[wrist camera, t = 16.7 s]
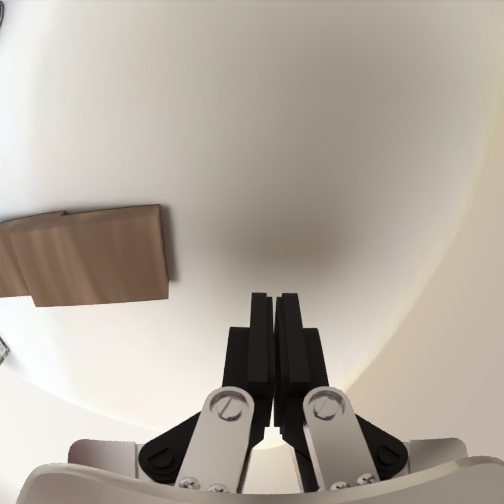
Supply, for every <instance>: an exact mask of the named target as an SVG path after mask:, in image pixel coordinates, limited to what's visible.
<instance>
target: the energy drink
mask: <svg viewBox="0 0 504 504" xmlns="http://www.w3.org/2000/svg"><path fill="white" fill-rule="evenodd" d="M2 14H3V8H2V3H1V2H0V23H1V19H2Z"/></svg>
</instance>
